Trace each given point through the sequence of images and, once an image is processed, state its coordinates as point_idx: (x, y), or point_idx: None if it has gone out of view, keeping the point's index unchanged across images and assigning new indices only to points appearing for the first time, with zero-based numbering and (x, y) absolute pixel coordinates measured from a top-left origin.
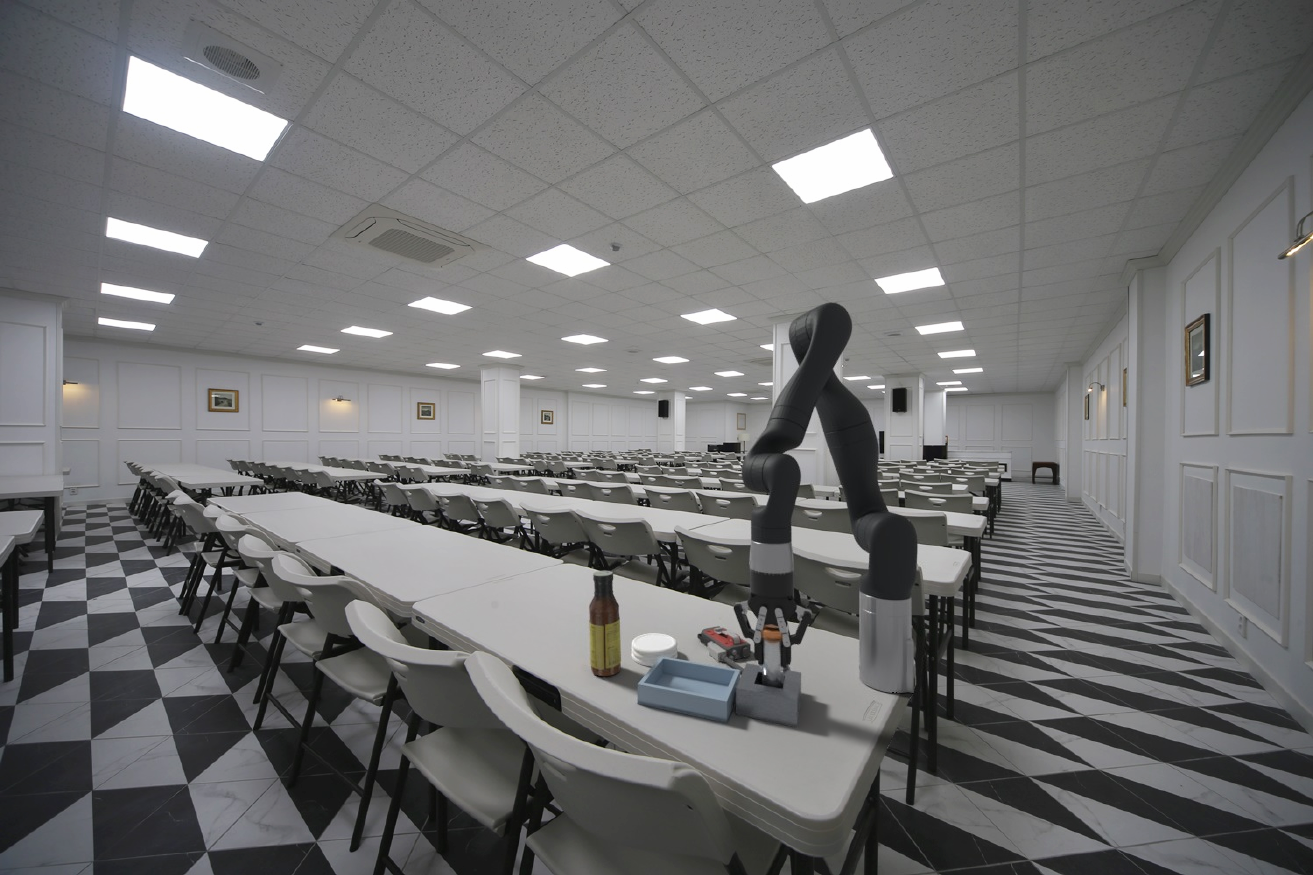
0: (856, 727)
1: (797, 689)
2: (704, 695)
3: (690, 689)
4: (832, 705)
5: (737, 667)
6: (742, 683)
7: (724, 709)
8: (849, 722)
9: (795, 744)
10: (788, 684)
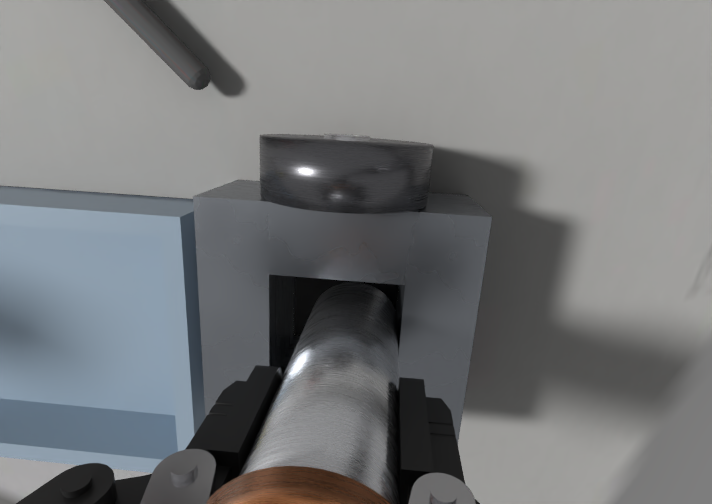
0: (648, 347)
1: (460, 390)
2: (111, 457)
3: (45, 292)
4: (592, 222)
5: (157, 52)
6: None
7: None
8: (630, 323)
9: None
10: (420, 360)
